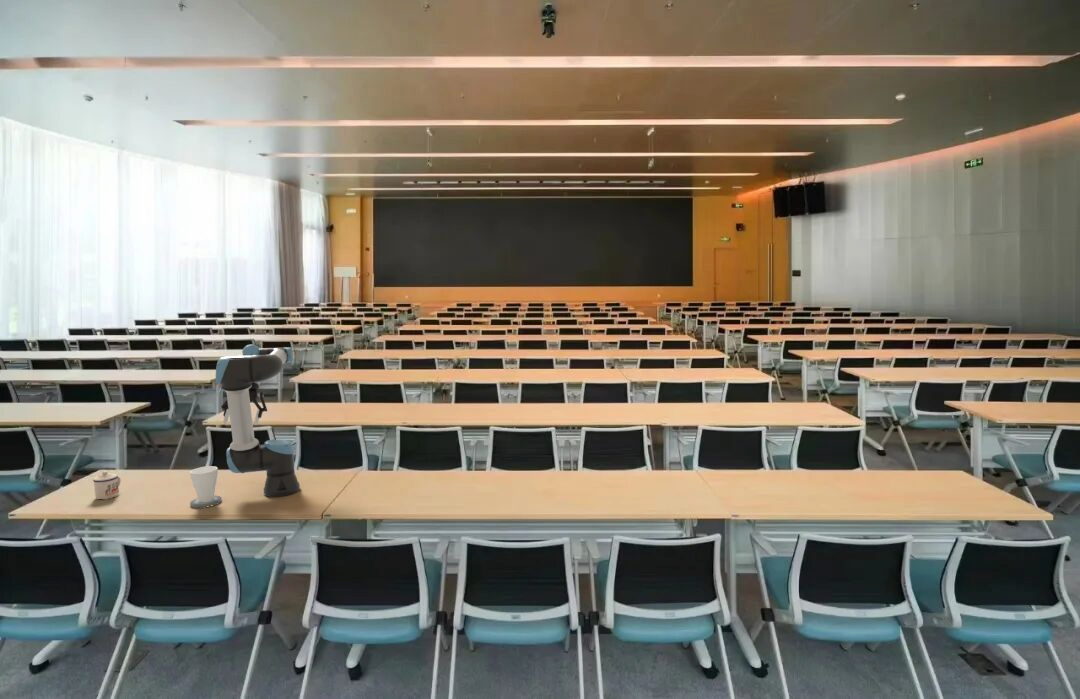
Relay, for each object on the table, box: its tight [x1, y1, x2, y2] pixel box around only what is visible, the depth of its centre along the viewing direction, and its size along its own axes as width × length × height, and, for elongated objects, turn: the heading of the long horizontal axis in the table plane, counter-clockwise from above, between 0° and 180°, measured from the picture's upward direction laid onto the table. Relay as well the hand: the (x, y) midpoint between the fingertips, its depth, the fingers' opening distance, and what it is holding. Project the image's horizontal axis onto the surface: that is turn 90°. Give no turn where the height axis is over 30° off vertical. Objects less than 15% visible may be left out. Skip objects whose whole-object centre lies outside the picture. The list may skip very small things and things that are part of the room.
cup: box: [189, 465, 219, 503], centre depth 267 cm, size 10×10×14 cm
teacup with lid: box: [92, 470, 122, 500], centre depth 280 cm, size 12×9×12 cm
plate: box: [189, 495, 223, 509], centre depth 268 cm, size 12×12×1 cm
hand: (240, 423), depth 289 cm, fingers open, 13 cm apart
